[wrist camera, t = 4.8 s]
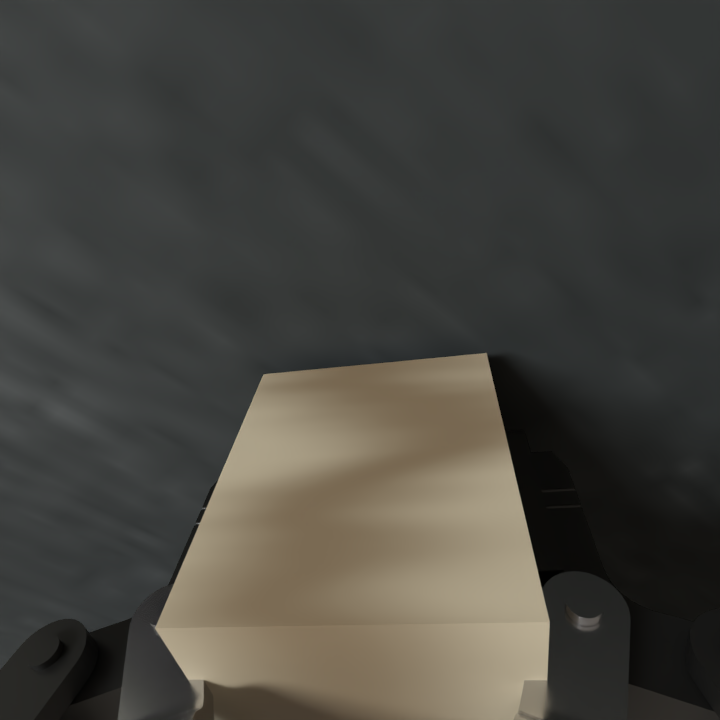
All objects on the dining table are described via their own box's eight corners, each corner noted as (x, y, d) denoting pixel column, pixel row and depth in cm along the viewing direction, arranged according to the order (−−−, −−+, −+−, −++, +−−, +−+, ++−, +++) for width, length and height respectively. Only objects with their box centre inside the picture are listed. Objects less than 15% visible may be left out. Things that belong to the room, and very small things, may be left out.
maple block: (486, 352, 11) (549, 622, 6) (493, 513, 14) (542, 796, 9) (263, 374, 12) (154, 628, 7) (309, 522, 14) (256, 785, 9)
